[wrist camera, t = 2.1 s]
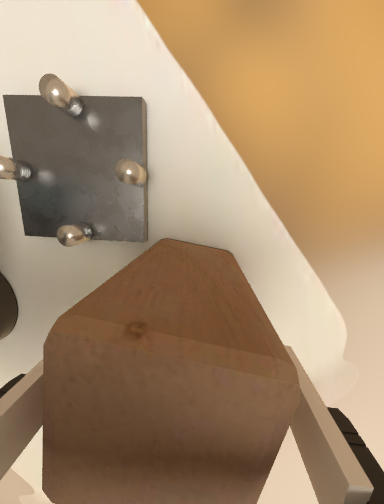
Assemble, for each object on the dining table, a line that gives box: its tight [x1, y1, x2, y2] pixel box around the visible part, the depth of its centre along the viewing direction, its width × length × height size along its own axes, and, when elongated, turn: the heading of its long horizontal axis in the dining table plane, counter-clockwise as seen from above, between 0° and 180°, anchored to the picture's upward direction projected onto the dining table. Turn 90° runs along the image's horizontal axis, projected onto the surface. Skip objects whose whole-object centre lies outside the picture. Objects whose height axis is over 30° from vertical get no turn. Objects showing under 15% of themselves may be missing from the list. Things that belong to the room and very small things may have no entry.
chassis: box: [0, 74, 148, 247], centre depth 23 cm, size 17×17×4 cm
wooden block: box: [42, 239, 300, 504], centre depth 17 cm, size 10×10×20 cm
